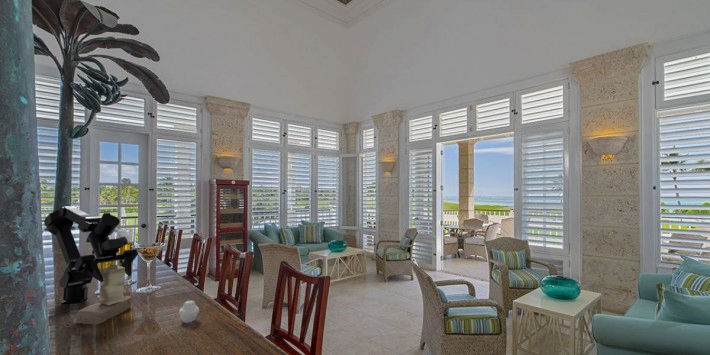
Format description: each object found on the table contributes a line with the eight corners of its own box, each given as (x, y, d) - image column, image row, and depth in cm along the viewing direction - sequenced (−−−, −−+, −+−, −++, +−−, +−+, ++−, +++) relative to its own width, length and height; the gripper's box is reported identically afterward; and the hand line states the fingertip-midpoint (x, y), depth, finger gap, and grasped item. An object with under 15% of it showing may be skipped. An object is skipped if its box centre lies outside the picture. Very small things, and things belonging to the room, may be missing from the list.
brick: (99, 325, 111) (100, 311, 111) (73, 324, 111) (74, 310, 111) (132, 308, 127) (133, 295, 128) (110, 307, 127) (111, 295, 128)
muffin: (175, 325, 113) (177, 303, 113) (181, 318, 119) (182, 297, 119) (195, 324, 114) (196, 303, 114) (200, 317, 120) (201, 297, 120)
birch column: (99, 302, 119) (101, 266, 119) (113, 298, 124) (116, 263, 124) (108, 305, 117) (110, 267, 117) (123, 300, 122) (125, 265, 122)
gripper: (81, 232, 115) (97, 269, 110) (137, 227, 132) (153, 259, 127) (67, 253, 118) (82, 290, 113) (124, 246, 135) (139, 278, 130)
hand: (116, 278), depth 120 cm, fingers open, 9 cm apart
